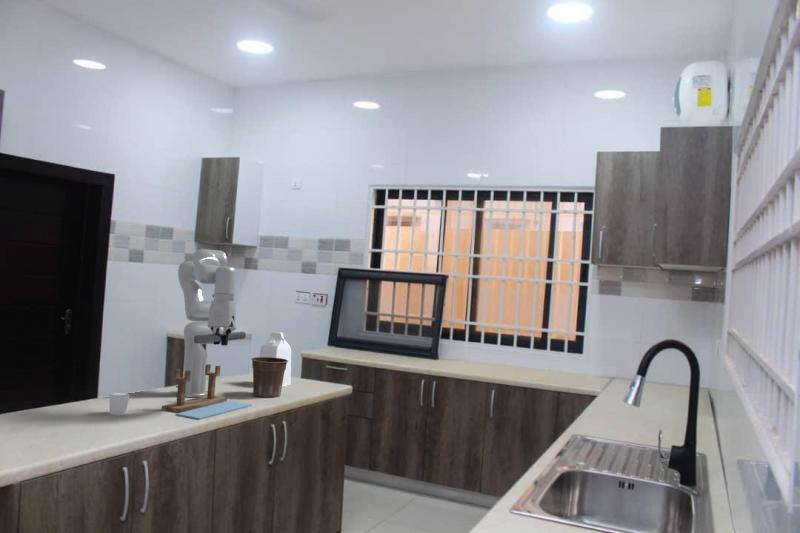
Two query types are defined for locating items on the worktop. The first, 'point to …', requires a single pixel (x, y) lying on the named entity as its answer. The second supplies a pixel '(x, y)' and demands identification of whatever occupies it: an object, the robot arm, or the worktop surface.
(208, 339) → the rod
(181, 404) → the rack
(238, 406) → the mat
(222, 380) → the worktop surface
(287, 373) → the milk
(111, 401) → the white cup
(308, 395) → the worktop surface
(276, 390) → the plant pot
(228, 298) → the robot arm
